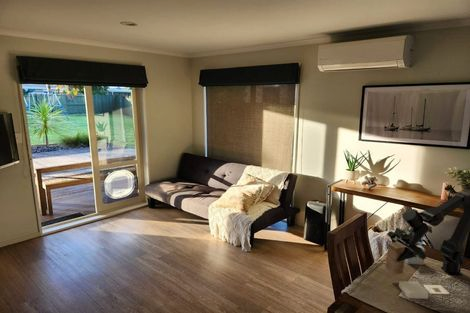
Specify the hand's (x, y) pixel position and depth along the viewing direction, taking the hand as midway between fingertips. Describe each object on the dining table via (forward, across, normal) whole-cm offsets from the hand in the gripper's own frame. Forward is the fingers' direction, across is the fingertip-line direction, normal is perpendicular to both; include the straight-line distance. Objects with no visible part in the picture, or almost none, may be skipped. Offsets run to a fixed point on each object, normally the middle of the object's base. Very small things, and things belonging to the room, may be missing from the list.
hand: (393, 258), depth 136 cm
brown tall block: (+4, 0, +6) cm, 7 cm away
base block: (+6, +10, +10) cm, 15 cm away
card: (-2, +10, +18) cm, 21 cm away
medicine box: (-8, -11, +24) cm, 28 cm away
